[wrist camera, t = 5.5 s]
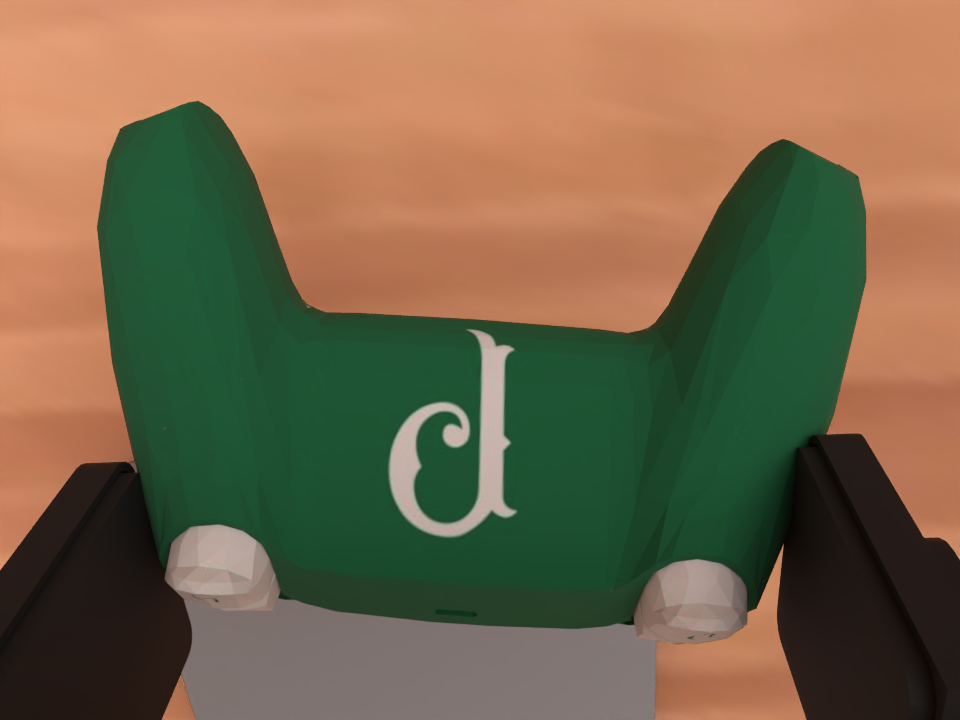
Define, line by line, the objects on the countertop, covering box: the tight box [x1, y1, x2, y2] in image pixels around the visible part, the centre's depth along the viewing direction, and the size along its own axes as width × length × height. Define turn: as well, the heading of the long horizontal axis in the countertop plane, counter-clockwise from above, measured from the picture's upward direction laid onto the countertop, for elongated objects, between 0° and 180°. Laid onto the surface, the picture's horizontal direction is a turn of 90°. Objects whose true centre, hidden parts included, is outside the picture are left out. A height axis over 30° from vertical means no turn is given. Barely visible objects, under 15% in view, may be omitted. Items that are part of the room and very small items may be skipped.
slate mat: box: [129, 462, 656, 720], centre depth 30 cm, size 16×13×1 cm
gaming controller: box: [97, 101, 866, 644], centre depth 12 cm, size 9×4×6 cm
